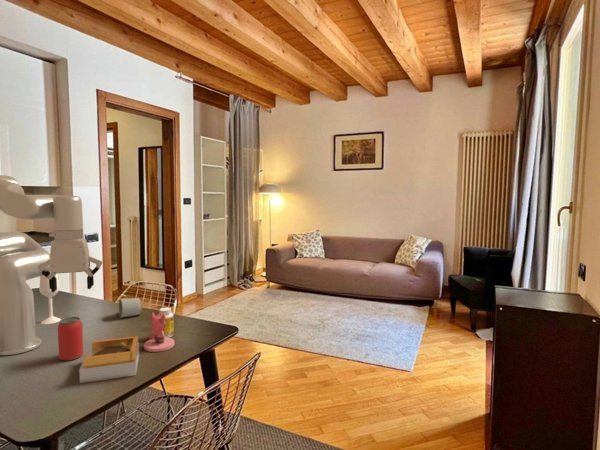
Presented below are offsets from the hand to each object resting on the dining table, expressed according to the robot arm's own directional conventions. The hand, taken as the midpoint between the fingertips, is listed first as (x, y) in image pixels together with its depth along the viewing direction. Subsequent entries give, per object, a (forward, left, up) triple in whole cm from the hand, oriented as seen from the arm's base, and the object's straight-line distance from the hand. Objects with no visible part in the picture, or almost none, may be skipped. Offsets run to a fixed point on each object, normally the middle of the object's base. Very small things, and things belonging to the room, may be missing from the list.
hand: (72, 289), depth 114 cm
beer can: (-1, -1, -22) cm, 22 cm away
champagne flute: (-16, +37, -22) cm, 46 cm away
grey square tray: (+12, -13, -21) cm, 28 cm away
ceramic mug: (+13, +36, -22) cm, 44 cm away
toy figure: (+25, -1, -22) cm, 33 cm away
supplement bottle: (+27, +7, -22) cm, 35 cm away
